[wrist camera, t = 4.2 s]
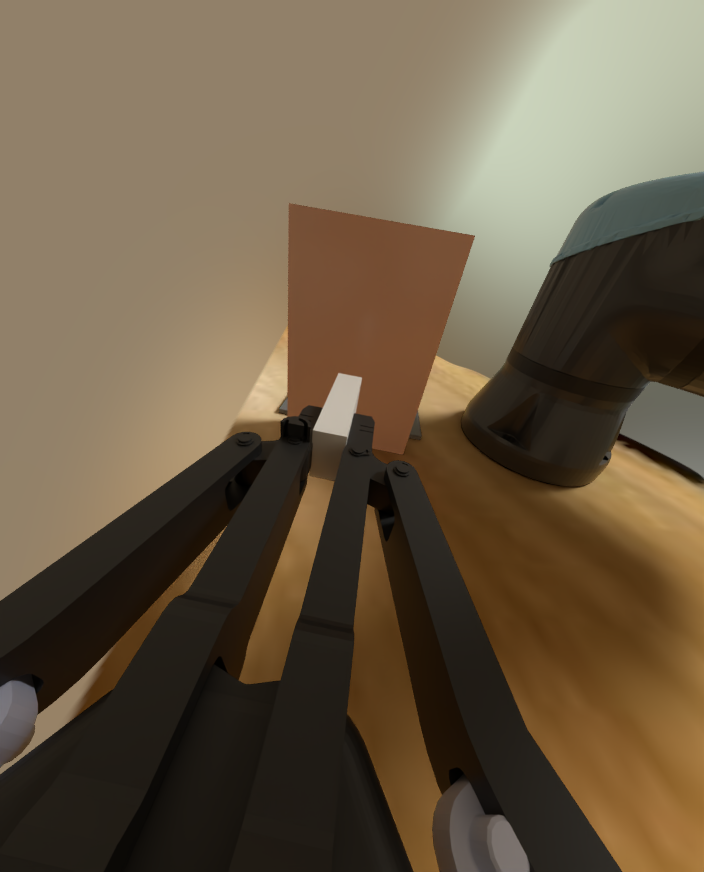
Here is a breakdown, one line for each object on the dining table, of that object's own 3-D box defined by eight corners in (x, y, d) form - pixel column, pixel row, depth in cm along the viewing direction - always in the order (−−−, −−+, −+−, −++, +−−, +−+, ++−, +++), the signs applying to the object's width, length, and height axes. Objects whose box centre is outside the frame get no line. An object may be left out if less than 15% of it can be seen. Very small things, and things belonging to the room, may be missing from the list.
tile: (402, 440, 29) (466, 237, 19) (403, 454, 27) (475, 235, 17) (294, 419, 30) (300, 208, 19) (287, 432, 28) (288, 203, 17)
